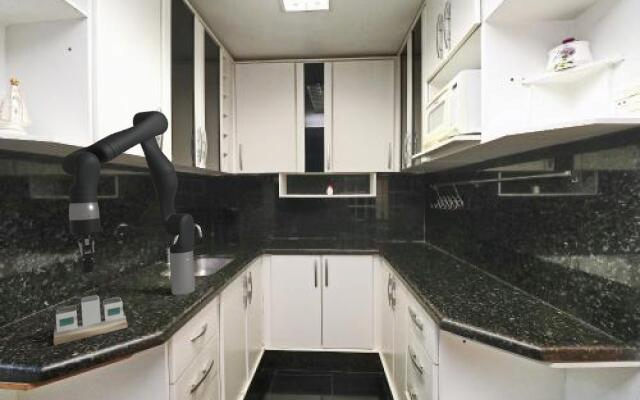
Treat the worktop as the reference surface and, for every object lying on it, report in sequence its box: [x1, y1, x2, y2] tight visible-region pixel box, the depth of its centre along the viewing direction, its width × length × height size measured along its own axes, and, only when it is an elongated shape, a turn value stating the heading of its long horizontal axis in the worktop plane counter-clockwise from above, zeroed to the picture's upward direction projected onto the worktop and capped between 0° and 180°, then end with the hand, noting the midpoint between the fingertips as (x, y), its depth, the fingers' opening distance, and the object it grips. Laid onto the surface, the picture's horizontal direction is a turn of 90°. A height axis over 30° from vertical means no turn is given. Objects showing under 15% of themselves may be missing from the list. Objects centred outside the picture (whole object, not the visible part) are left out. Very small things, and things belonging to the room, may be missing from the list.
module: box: [80, 294, 101, 326], centre depth 103 cm, size 6×4×8 cm
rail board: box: [53, 296, 129, 346], centre depth 103 cm, size 12×18×8 cm, turn 127°
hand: (88, 269), depth 102 cm, fingers open, 8 cm apart
